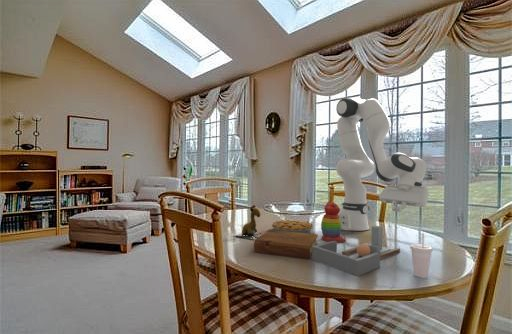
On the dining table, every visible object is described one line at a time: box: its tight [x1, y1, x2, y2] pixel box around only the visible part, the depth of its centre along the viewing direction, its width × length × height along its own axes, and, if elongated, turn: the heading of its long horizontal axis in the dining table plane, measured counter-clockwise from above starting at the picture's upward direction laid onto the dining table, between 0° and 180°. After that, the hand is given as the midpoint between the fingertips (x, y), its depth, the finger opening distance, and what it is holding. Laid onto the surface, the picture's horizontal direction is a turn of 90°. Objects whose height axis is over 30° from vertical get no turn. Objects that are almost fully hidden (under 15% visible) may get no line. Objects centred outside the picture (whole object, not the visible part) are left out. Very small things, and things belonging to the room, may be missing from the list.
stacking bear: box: [320, 201, 346, 243], centre depth 137 cm, size 11×10×18 cm
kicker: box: [364, 225, 392, 254], centre depth 118 cm, size 8×9×10 cm
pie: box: [271, 219, 314, 234], centre depth 153 cm, size 22×22×5 cm
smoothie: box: [409, 232, 433, 279], centre depth 94 cm, size 6×6×14 cm
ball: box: [356, 243, 371, 257], centre depth 113 cm, size 5×5×5 cm
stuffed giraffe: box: [237, 204, 261, 241], centre depth 147 cm, size 16×18×16 cm
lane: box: [341, 241, 401, 261], centre depth 116 cm, size 12×22×2 cm, turn 126°
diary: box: [253, 229, 319, 260], centre depth 122 cm, size 23×19×6 cm
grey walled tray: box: [311, 241, 381, 277], centre depth 105 cm, size 20×13×5 cm, turn 36°
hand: (396, 210), depth 127 cm, fingers closed
